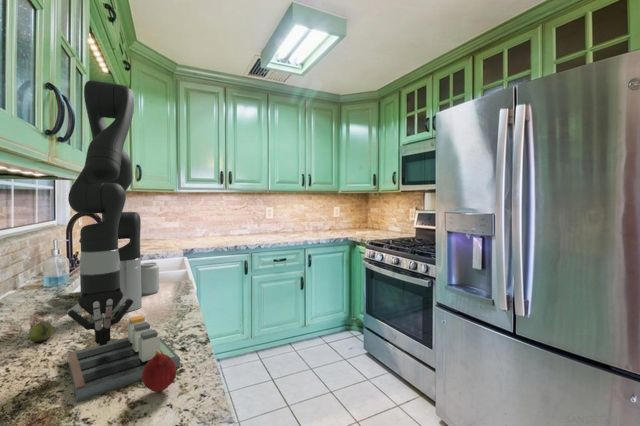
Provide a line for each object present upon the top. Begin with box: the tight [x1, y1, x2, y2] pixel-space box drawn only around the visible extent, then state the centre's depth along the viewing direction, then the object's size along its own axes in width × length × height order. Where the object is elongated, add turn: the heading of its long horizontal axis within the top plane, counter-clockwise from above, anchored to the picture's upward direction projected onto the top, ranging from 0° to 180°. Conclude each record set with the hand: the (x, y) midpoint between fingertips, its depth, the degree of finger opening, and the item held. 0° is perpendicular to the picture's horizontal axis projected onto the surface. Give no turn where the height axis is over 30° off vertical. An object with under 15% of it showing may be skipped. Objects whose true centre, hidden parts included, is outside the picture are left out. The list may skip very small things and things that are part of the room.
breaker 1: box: [132, 321, 153, 352], centre depth 73 cm, size 3×4×5 cm
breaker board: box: [66, 337, 181, 403], centre depth 70 cm, size 20×18×2 cm
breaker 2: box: [138, 329, 161, 362], centre depth 68 cm, size 3×4×5 cm
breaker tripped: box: [127, 314, 148, 343], centre depth 78 cm, size 3×4×5 cm
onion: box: [141, 350, 178, 393], centre depth 60 cm, size 6×6×8 cm
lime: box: [27, 321, 54, 343], centre depth 83 cm, size 4×5×5 cm
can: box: [141, 261, 160, 296], centre depth 127 cm, size 8×8×12 cm
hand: (102, 344), depth 73 cm, fingers closed
